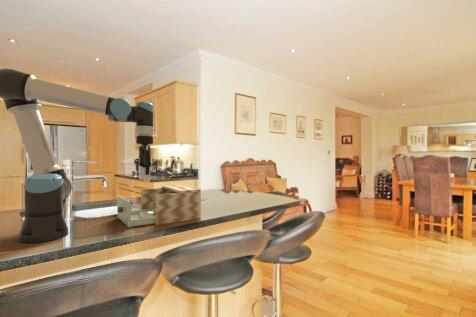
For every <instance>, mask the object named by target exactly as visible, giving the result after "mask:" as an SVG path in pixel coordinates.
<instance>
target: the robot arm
mask: <svg viewBox="0 0 476 317" xmlns="http://www.w3.org/2000/svg"><path fill="white" fill-rule="evenodd" d="M0 98H1V99H2V101H3V102H4V103H3V104H4V105H5V108H6V110H7V111H6V112H8V113H10V114H12V115H13V116H14V119H15V122H16V125H17V128H18V131H19V133H20V136H21V138H22V141H23V145H24V147H25V150H26V153H27V155H28V159H29V161H30V164H31V167H32V169H33V172H32V174H31V175H29V176H27V177H26V178H25V179H24V185H23V189H24V192H23V193H24V220H23V223H22V225H21V228H20V230H19V232H18V242H20V243H24V244H25V243H26V244H37V243H38V244H39V243H44V242H45V243H46V242H50V241H56V240H58V239H62V238H65V237H66V236H68V235H69V228H68V225H67V223H66V219H65V217H64V212H63V211H64V210H63V208H64V206H63V201H65V200H66V199H67V198H68V197H69V196H70V194H71V191H72V188H73V187H72V182H71V181H70V179H69V178H68V177H67V174H66V172H65V168H64V167H62V166H60V165H59V164H58V162H57V159H56V155H55V153H54V150H53V147H52V144H51V141H50V139H49V136H48V133H47V129H46V126H45V124H44V121H43V118H42V116H41V112H40V110H41V109H42V107H43V105H42V102H45V103H51V104H55V105H58V106H63V107H68V108H73V109H77V110H82V111H86V112H92V113H95V114H100V115H105V116H107V120H108V121H109V122H116V123H118V122H119V123H135V124H136V125H135V128H136V129H135V131H136V132H135V134H136V138H135V140H136V141H135V142H136V143H135V144H136V145H140V146H139V156H138V166H139V167H138V170H139V172H138V173H139V174H138V180H139V181H140V180H141V181H143V183H150V182H151V167H152V159H151V146H150V145H153V144H154V137H153V135H154V132H155V129H154V105H153V103H152V102H147V101H138V102H137V103H136V105H134V106H133V105H131V104H130V102H129V100H127V99H125V98H123V97H122V98H121V97H112V96H111V97H110V96H107V95H103V94H99V93H96V92H92V91H87V90H83V89H81V88H80V89H78V88H75V87H71V86H67V85H63V84H58V83H55V82H50V81H48V80H47V81H46V80H43V79H39V78H37V77H36V76H35V75H33V74H29V73H26V72H23V71H19V70H16V69H13V68H0Z"/></svg>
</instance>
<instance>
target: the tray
mask: <svg viewBox="0 0 476 317" xmlns="http://www.w3.org/2000/svg"><path fill="white" fill-rule="evenodd" d="M127 199H128V198H126V197H124V196H123V195H120V194H119V195H117V196H116V204H117V206H116V208H117V210H116V212H117V214H116V215H117V216H116V218H117V219H118V220H119V221H121V223H122V224H124V225H125V226H126V227H127V228H132V227H138V226H146V225H152V224H156V217H149V218H141V219H140V218H139V212H142V211H149V210H153V211H156V208H152V209H142V210H141V209H135V210H132V200H131V201H129V200H127Z"/></svg>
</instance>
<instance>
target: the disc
mask: <svg viewBox="0 0 476 317" xmlns="http://www.w3.org/2000/svg"><path fill="white" fill-rule="evenodd" d="M149 217H156V211H153V210H149V211H142V212H139V218H140V219H141V218H149Z"/></svg>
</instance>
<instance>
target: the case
mask: <svg viewBox="0 0 476 317" xmlns="http://www.w3.org/2000/svg"><path fill="white" fill-rule="evenodd" d="M201 192H202V191H201V189H200V188H196V187H192V186H187V185H183V184H182V185H181V184H176V185H175V184H174V185H161V187H157V188H156V187H155V188H143V189H140V210H142V209H152V208H156V223H155V225H156V226H158V225H165V224H170V223H177V222H178V223H179V222H183V221H191V220H196V219H201V217H202V216H201V203H202V202H201V197H202V196H201Z"/></svg>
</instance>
